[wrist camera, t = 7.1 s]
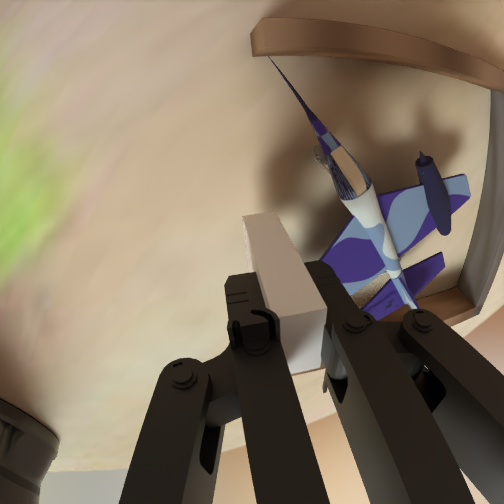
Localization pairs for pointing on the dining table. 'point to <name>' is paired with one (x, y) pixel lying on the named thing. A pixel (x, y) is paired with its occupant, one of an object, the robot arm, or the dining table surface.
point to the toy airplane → (385, 223)
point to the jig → (434, 60)
